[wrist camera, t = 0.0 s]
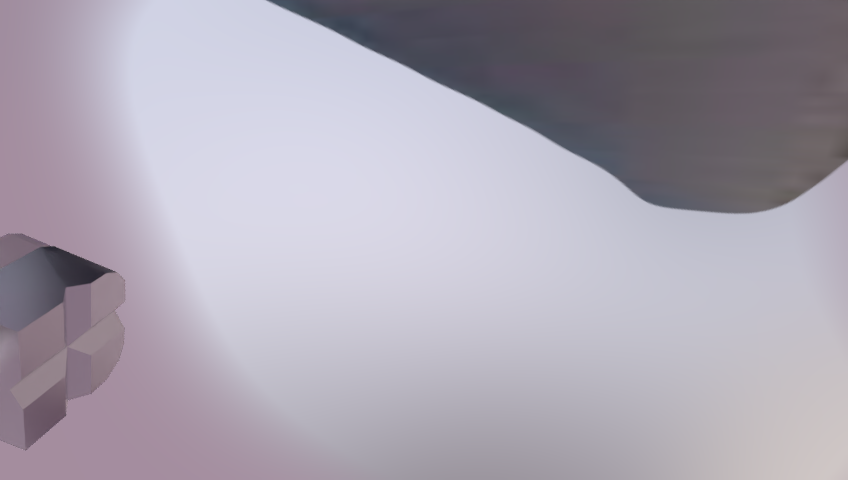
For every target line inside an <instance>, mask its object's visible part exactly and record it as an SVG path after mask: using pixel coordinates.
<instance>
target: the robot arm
mask: <svg viewBox="0 0 848 480" xmlns="http://www.w3.org/2000/svg"><path fill="white" fill-rule="evenodd" d="M124 302H125V280H124V279H123V278H122V277H121V276H120V275H119V274H118V273H117V272H115V271H113V270H110V269H108V268H105V267H103V266H101V265H98V264H95V263H93V262H91V261H89V260H86V259H84V258H81V257H79V256H76V255H74V254H71V253H69V252H67V251H64V250H62V249H59V248H57V247H55V246H50V245H48V244H46V243H43V242H41V241H38V240H36V239H33V238H31V237H29V236H26V235H24V234H6V235H4V236H2V237H0V440H1V441H3V442H6V443H8V444H11V445H13V446H16V447H18V448H21V449H23V450H27V449H28V448H29V447H30V446H31V445H33V444H34V443H35V442H36V441H37V440H38V439H39V438H41V437H42V436H43V435H44V434H45V433H46V432H48V431H49V430H50V429H51V428H52V427H53V426H54V425H56V424H57V423H58V422H59V421H60V420H61V419H63V418H64V417H65V416H66V411H67V404H68V400H71V399H74V398H78V397H81V396H85V395H88V394H91V393H92V392H94V391H95V390H96V389H97V388H98V387H99V386H100V385H101V384H102V383H103V382H105V380H107V378H108V377H109V375H110V374H111V372H112V370H113V369H114V367H115V366H116V364H117V362H118V361H119V358H120V355H121V352H122V348H123V345H124V327H123V325H122V323H121V321H120V319H119V317H118V316H117V314H116V312H115V310H116V309H117V308H118V307H119V306H120V305H121V304H122V303H124Z"/></svg>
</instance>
